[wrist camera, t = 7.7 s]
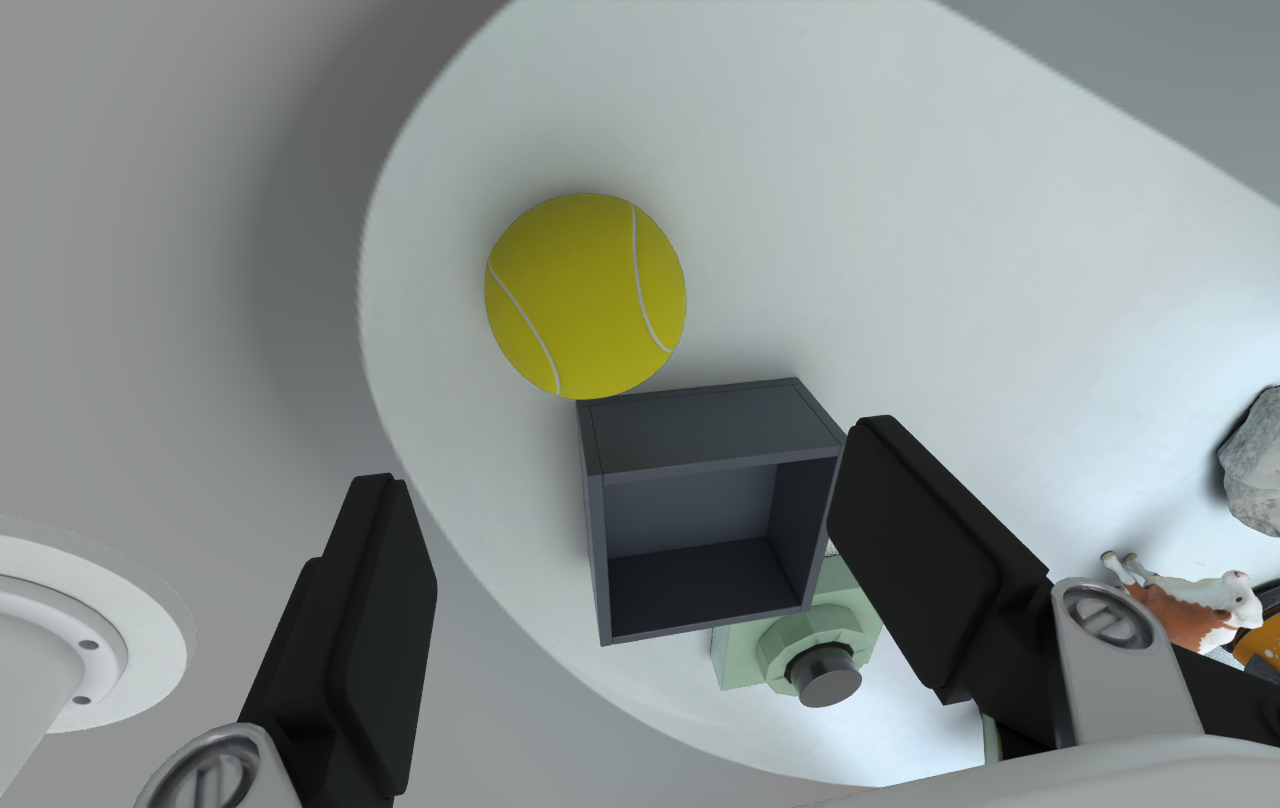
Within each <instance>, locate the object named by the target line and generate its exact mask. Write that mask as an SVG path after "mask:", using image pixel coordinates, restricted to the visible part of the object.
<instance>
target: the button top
mask: <svg viewBox="0 0 1280 808" xmlns="http://www.w3.org/2000/svg"><path fill="white" fill-rule="evenodd" d="M786 669H787V672H788V674H789V676H790V679H791V681H792V683H793V686H794V688H795V690H796V693H797V695H798V697H799V700H800V702H801V703H802V704H803V705H805V706H807V707H812V708H819V707H826V706H830V705H833V704H836V703H838V702H841V701H843V700H845V699H846V698H848V697H849V696H851V695H852V694H853V693H854V692H855V691H856V690H857V689H858V688H859V687H860V685H861V682H862V676H861V674H860V672H859V670H858V668H857V667H856V665H855V663H854V661H853V659H852V657H851V656H850V654H849V652H848V650H847V648H846V646H845V645H844V644H843V643H841V642H836V641H832V642H827V643H821V644H816V645H814V646H812V647H810V648H808V649H806V650H804V651H802V652H800V653H798V654H797V655H796V656H795V657H794V658H793V659H792V660H791V661H790V662H788V663H787V665H786Z"/></svg>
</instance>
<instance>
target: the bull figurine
mask: <svg viewBox="0 0 1280 808" xmlns="http://www.w3.org/2000/svg"><path fill="white" fill-rule="evenodd" d="M1101 560H1102V561H1103V562H1104V563H1105V564H1104V565H1105V567H1107V568H1109V569H1111V570H1113V571H1115V572H1116V573H1117V574H1118V576H1119V577H1120V580H1121V582H1122V584H1123V585H1124V586H1125V587H1126V588H1127V589H1128V591H1129V592H1130V594H1131V596H1132V597H1133V598H1135V599H1136V600H1137V601H1139V602H1140V603H1141V604H1143V605H1144V606H1145V607H1147V608H1148V609H1149V610H1150V611H1151V613H1152V614H1153V615H1154V616H1155V617H1156V618H1157V619H1158V620H1159V621H1160V623H1161V625H1162V626H1163V628H1164V630H1165V631H1166V633H1167V636H1168V638H1169V641H1170V642H1171V643H1174V644H1176V645H1179V646H1181V647H1184V648H1186V649H1189V650H1191V651H1194V652H1196V653H1199V654H1201V655H1204V656H1205V655H1206V654H1207V653H1208V652H1210V651H1212V650H1213V649H1215V648H1216V647H1217V646H1218V645H1223V644H1227V643H1229V642H1231V641H1232V640H1233V639H1234V637H1235V634H1236V632H1237V630H1238V628H1239V627H1245V628H1250V629H1255V628H1258V627H1261V626H1262V624H1263V619H1262V605H1261V602H1260V601H1259V599H1258V598H1257V597H1256V596H1255V595H1254V593H1253V591H1252V589H1251V587H1250V585H1249V576H1248V575H1247V574H1245V573H1243V572H1240V571H1236V570H1231V571H1227V572H1226V573H1224V575H1223V576H1222V578H1216V579H1202V580H1199V581H1198V582H1195V583H1192V582H1190V581H1187V580H1184V579H1181V578H1172V577H1162V576H1160V575H1158V574H1157V573H1154V572H1150V571H1147V570H1145V569H1144V568H1143V566H1142V565H1141V564H1140V562H1139V559H1138V557H1137V556H1136V554H1131V555H1129V556H1128V557H1127V558H1126V559H1125V562H1126V564H1127V569H1128V570H1129V571H1132V572H1134V573H1137V574H1138V575H1140V576H1142V577H1143V578H1144V579H1145V580H1146V581H1145V582H1144V584H1143V587H1141V586H1140V585H1139V584H1138V582H1137V580H1136V579H1135V578H1134V577H1133V576H1131V575H1129V574H1128V573H1127V572H1126V571H1125V570H1124V569H1123V567H1122V565H1121V564H1120V562H1119V561H1118V559H1117V557H1116V555H1115V553H1114V552H1108V553H1106V554H1104V555H1103V556H1102V557H1101ZM1118 589H1119V590H1121V591H1123V592H1125V593H1127V592H1126V591H1125V589H1124V587H1119V588H1118Z"/></svg>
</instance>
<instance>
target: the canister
mask: <svg viewBox="0 0 1280 808" xmlns="http://www.w3.org/2000/svg"><path fill="white" fill-rule="evenodd" d="M1254 595H1255V596H1256V597H1257V598H1258V599H1259V601H1260V602H1261V605H1262V619H1263V624H1262V626H1261V627H1258V628H1255V629H1250V628H1245V627H1239V628H1238V630H1237V632H1236V634H1235V637H1234V639H1233V640H1232V641H1231V642H1229V643H1227V644H1223V645H1220V646H1221V647H1222V648H1223V649H1225V650H1226V651H1227V652H1229V653H1232V654H1233V657H1234V658H1235V659H1236V660H1238V661H1239V662H1240V663H1241V664H1242V665H1243V666H1245V668H1244V672H1246V673H1249V674H1251V675H1254V676H1256V677H1259V678H1261V679H1264V680H1266V681H1269V682H1271V683H1274V684H1276V685H1279V686H1280V586H1275V587H1270V588H1267V589H1264V590H1261V591H1259V592H1256V593H1254Z"/></svg>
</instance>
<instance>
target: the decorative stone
mask: <svg viewBox="0 0 1280 808" xmlns="http://www.w3.org/2000/svg"><path fill="white" fill-rule="evenodd" d="M1249 411H1250V414H1249V416H1248V418H1247V420H1246V422H1244V423H1243V424H1242V425H1241V426H1240V427H1238V428H1237V429H1236V430H1235V432H1234V433H1233V434H1232V435H1231V437H1229V439H1228V440H1227V441H1226V442H1225V443H1224V444H1223V446H1222V447H1220V449H1219V450H1218V454H1217V456H1218V457H1219V461H1220V463H1221V465H1222V466H1223V468H1224V469H1225V476H1224V487H1225V490H1226V492H1227V497H1228V499H1229V502H1228V506H1229V509H1230V512H1231V513H1232V515H1233V516H1234V517H1235V518H1237V519H1239V520H1240V521H1241V522H1242V523H1243V524H1245V525H1246V526H1248V527H1250V528H1252V529H1255V530H1257V531H1259V532H1261V533H1263V534H1266V535H1268V536H1271V537H1280V386H1279V387H1277V388H1271V389H1267V390H1266V391H1265V392H1263V393H1262V394H1261V395H1260V397H1259V399H1257V401H1256V402H1255V403H1254V405H1253V406H1252V407H1251V408H1249Z"/></svg>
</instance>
